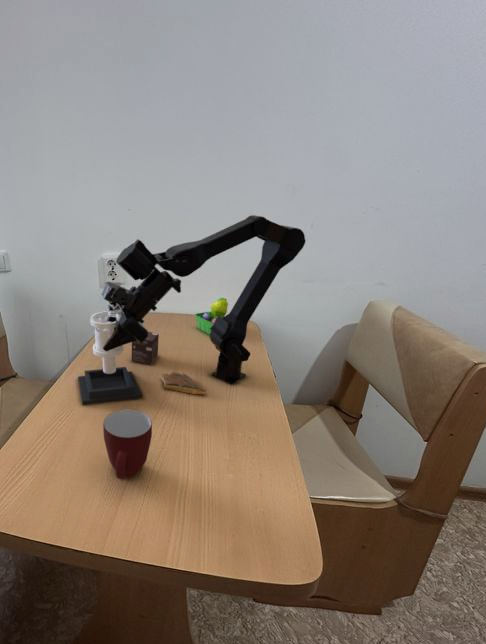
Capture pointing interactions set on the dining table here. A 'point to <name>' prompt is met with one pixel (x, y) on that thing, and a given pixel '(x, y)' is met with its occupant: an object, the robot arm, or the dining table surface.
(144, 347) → the box
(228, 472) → the dining table surface
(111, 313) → the white stemmed open cylinder
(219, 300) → the fruit basket
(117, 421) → the mug
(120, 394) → the dock pad
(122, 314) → the robot arm
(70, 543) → the dining table surface
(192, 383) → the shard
